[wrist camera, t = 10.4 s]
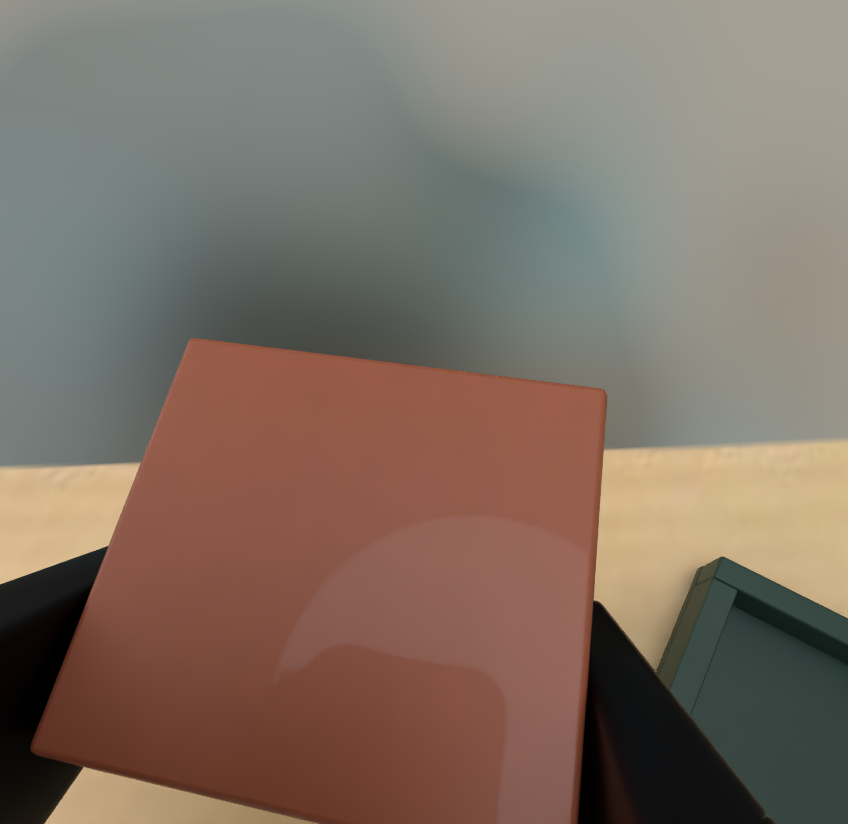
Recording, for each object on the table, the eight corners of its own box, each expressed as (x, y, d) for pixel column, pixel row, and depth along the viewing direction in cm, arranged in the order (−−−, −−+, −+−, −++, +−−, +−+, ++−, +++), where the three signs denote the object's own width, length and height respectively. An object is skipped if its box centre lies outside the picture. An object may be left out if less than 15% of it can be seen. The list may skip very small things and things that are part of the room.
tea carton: (516, 771, 13) (576, 888, 5) (274, 718, 14) (22, 754, 6) (540, 542, 15) (609, 386, 7) (328, 507, 16) (187, 334, 8)
